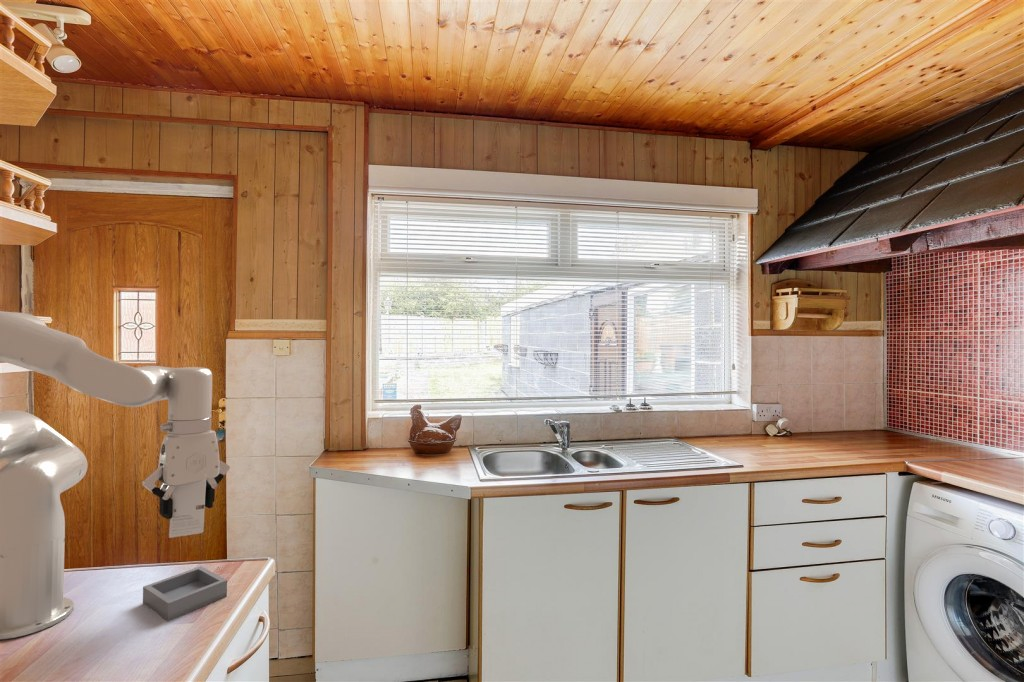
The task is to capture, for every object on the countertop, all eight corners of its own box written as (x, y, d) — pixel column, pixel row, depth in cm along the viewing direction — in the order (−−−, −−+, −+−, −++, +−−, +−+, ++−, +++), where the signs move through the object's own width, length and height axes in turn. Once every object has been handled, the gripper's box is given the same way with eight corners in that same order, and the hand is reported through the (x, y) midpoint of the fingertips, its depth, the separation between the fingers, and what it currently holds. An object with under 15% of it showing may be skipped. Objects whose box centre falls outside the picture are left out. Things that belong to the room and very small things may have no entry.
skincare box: (168, 539, 97) (170, 478, 97) (169, 531, 101) (171, 473, 101) (205, 532, 100) (206, 474, 100) (204, 525, 104) (206, 469, 104)
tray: (142, 603, 99) (143, 586, 99) (200, 581, 108) (201, 566, 108) (167, 621, 93) (168, 603, 93) (226, 596, 102) (227, 580, 102)
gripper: (149, 435, 91) (146, 529, 91) (241, 423, 106) (239, 504, 106) (132, 430, 95) (129, 520, 95) (223, 419, 110) (221, 497, 110)
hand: (187, 511), depth 100 cm, fingers closed on skincare box, 7 cm apart
